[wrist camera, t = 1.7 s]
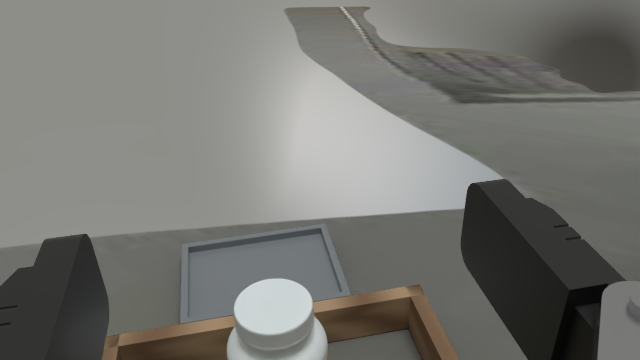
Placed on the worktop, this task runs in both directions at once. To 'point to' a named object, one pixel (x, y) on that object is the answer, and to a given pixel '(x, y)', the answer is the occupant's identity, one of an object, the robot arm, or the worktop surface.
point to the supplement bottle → (276, 324)
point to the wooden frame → (334, 315)
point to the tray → (257, 269)
